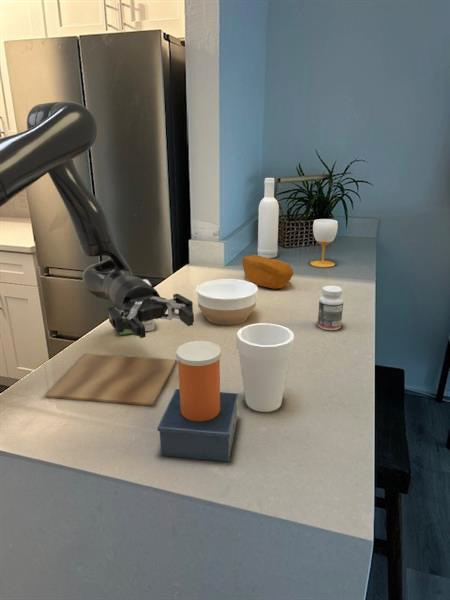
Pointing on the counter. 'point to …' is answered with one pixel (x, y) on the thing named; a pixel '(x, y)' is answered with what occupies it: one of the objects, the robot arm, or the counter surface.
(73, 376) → the cutting board
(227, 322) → the bowl
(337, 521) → the counter surface
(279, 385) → the foam cup
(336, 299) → the pill bottle
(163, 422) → the tin
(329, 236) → the cup
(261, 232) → the bottle
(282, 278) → the bread
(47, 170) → the robot arm
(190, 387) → the tub
